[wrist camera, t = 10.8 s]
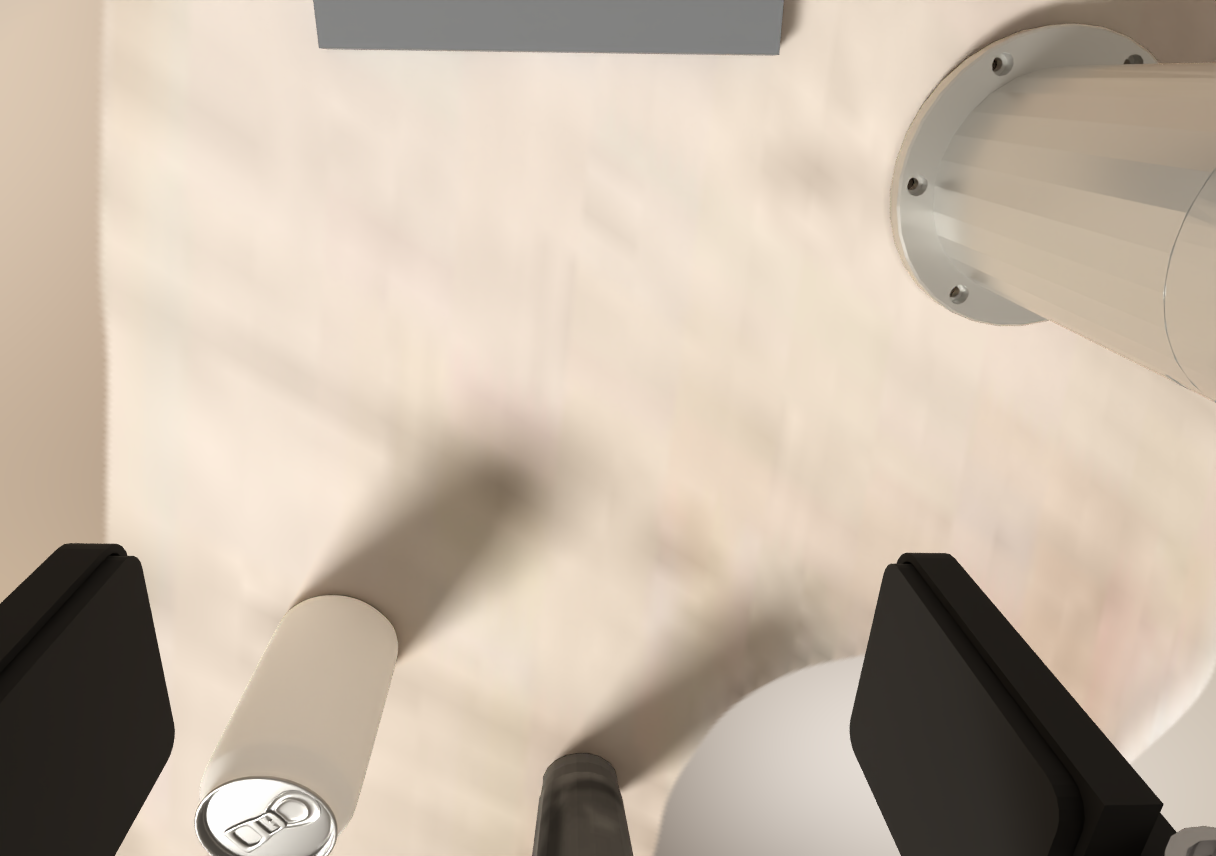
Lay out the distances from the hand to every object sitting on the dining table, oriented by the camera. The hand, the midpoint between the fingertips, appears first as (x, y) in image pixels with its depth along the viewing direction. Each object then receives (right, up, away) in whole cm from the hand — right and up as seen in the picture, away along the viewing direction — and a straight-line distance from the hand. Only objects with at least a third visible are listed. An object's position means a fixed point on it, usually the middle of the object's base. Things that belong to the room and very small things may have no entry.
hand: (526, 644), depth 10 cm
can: (-13, -9, +33) cm, 37 cm away
